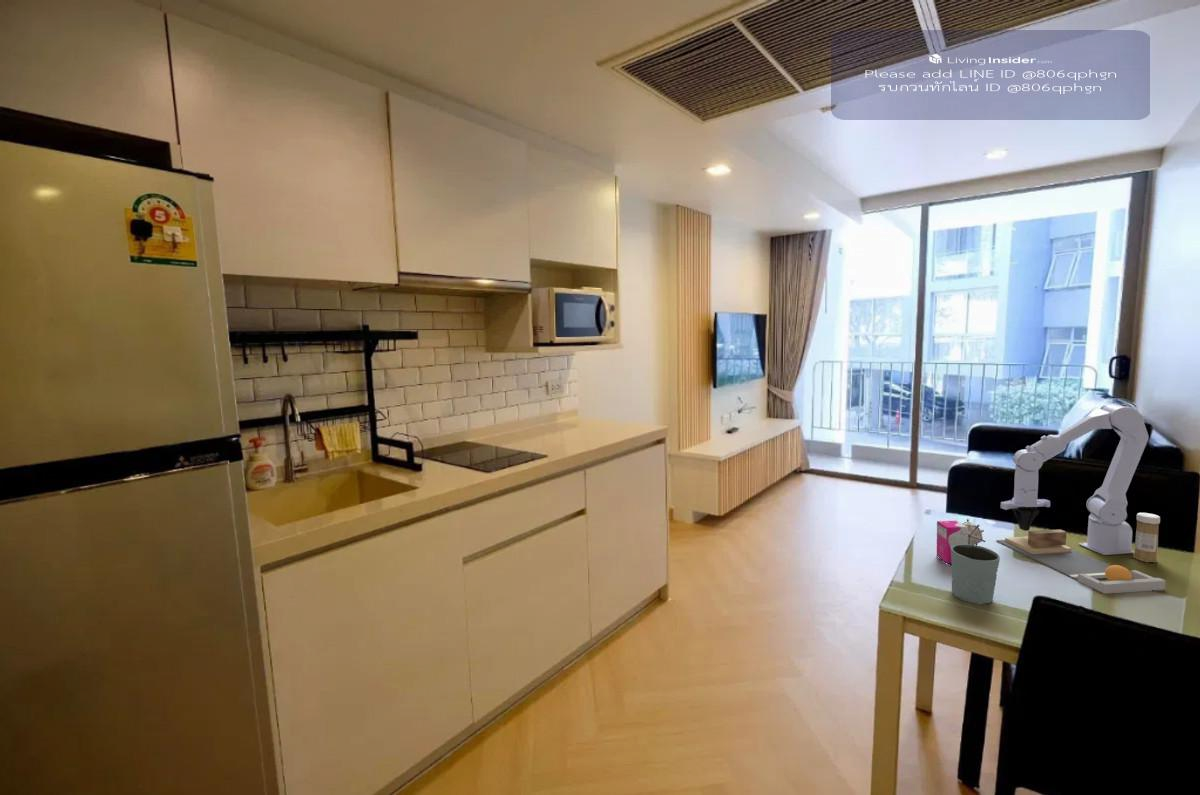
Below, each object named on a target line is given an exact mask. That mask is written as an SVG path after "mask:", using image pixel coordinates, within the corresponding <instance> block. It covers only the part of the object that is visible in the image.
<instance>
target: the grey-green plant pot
mask: <svg viewBox="0 0 1200 795" xmlns="http://www.w3.org/2000/svg"><path fill="white" fill-rule="evenodd" d="M951 559H952V561H951V563H952V565H951V567H950V570H951V572H950V573H951V593H952V595H953V594H954V597H956V598H957V597H958V598H957V599H959V598H960V599H959V600H961V599H962V600H961V601H963V600H965V601H964V602H966V601H970V602H974V603H973V604H975V603H989V602H991V601H992V602H993V601H994V600H993V599H994V594H995V587H996V581H997V576H998V575H997V573H998V569H999V565H1000V560H1001V558H1000V555H999V553H997V552H996V551H994V550H992V549H990V548H987V547H984V546H981V545H978V546H977V545H970V544H957V545H953V546H952V547H951ZM970 602H969V603H970ZM992 602H991V603H992ZM989 604H990V603H989Z"/></svg>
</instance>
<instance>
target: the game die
mask: <svg viewBox="0 0 1200 795" xmlns="http://www.w3.org/2000/svg"><path fill="white" fill-rule="evenodd" d="M961 524H963V525H965V526H967V527H968V540H967V544H970V545H976V546H977V545H978V544H979V543H981V542H984V543H986V540H984V539H983V533H984V529H982V530H981V529H980V527H981V526H980V524H977V525H976V524H975V523H972V522H970V519H969V518H967V519H966V521H964V522H961ZM978 546H979V545H978Z"/></svg>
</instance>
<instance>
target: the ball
mask: <svg viewBox="0 0 1200 795" xmlns="http://www.w3.org/2000/svg"><path fill="white" fill-rule="evenodd" d="M1105 576H1106V578H1107V579H1106V580H1108V581H1118V580H1133V579H1132V575H1131V573H1130V570H1129V569H1128V568H1126V567H1125V566H1123V565H1119V564H1113V565H1111V566H1109V567H1108V568H1107V569H1106V570H1105Z"/></svg>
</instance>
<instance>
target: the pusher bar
mask: <svg viewBox="0 0 1200 795" xmlns="http://www.w3.org/2000/svg"><path fill="white" fill-rule="evenodd" d="M1027 532H1028V534H1027V536H1028V545H1030V546H1032V547H1046V546H1062V545H1065V546H1067V533H1068V532H1067V531H1065V530H1063V529H1060V528H1059V529H1046V530H1033V531H1031V530H1029V531H1027Z"/></svg>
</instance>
